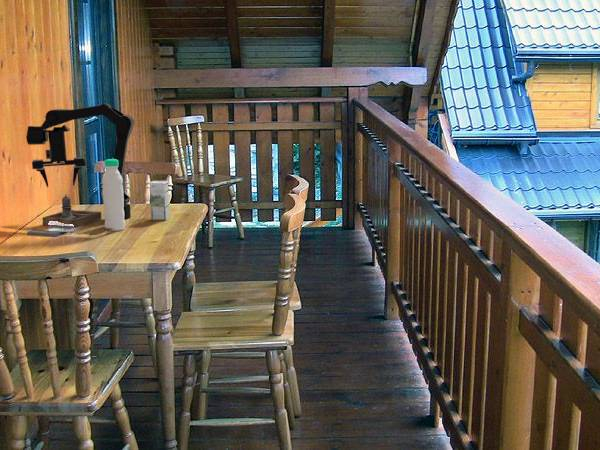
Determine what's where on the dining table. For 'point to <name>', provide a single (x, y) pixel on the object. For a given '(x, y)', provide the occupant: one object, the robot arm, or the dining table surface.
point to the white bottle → (113, 196)
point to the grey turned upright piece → (66, 208)
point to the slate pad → (45, 233)
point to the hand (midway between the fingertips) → (60, 186)
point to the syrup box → (159, 200)
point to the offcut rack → (80, 219)
